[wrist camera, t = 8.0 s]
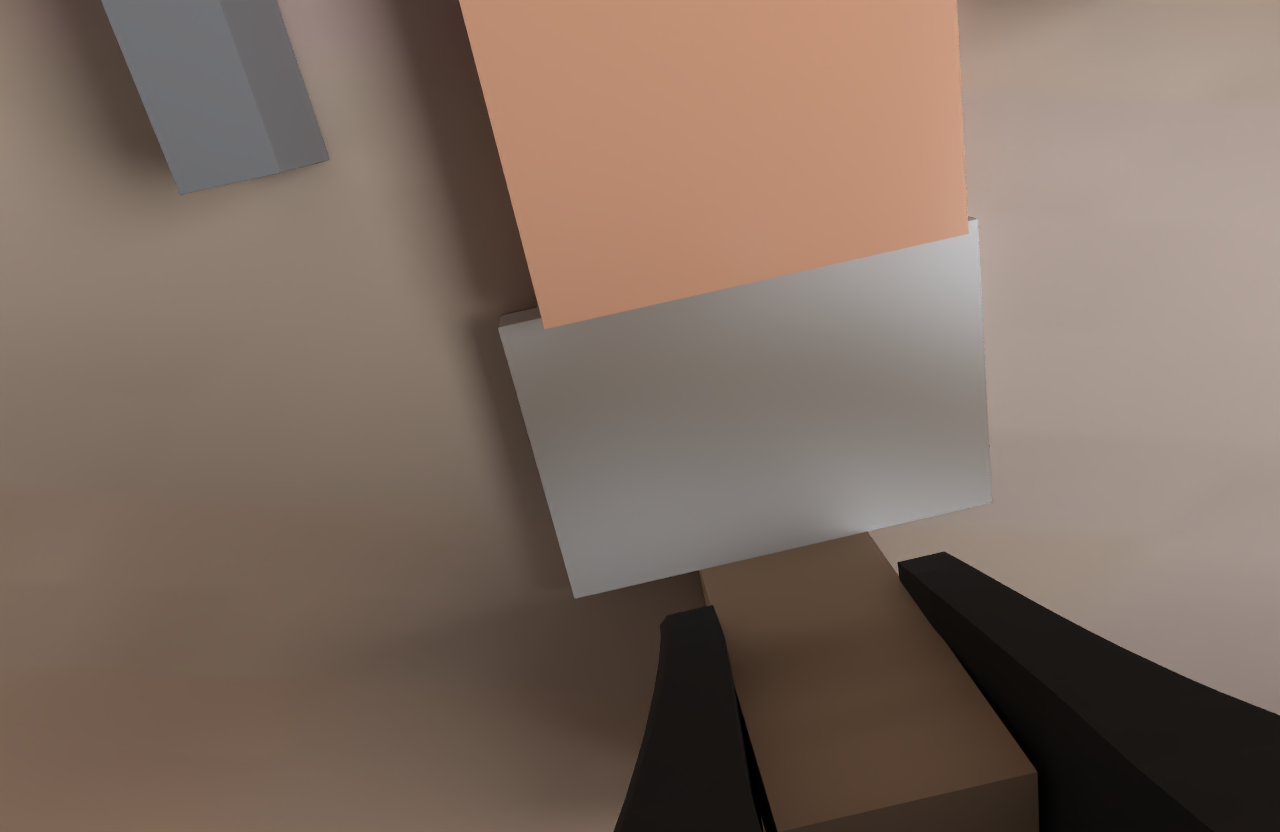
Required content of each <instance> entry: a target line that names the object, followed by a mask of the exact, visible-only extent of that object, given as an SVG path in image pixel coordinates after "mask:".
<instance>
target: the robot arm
mask: <svg viewBox="0 0 1280 832" xmlns="http://www.w3.org/2000/svg"><path fill="white" fill-rule="evenodd" d="M898 570H899V580H900V582H901V583H902V584H903V586H904V587H905V589H906V590H907V591H908V593H909V594H910V596H911V597H912V599H913V600H914V601H915V603H916V604H917V606H918V607H919V608H920V610H921V611H922V613H923V614H924V616H925V617H926V618H927V620H928V621H929V623H930V624H931V625H932V627H933V628H934V629H935V630H936V632H937V633H938V634H939V635H940V636H941V637H942V638H943V640H944V641H945V642H946V644H947V645H948V646H949V648H950V649H951V651H952V652H953V653H954V655H955V656H956V658H957V659H958V660H959V662H960V663H961V665H962V666H963V668H964V669H965V670H966V672H967V673H968V675H969V676H970V677H971V679H972V680H973V682H974V683H975V684H976V686H977V687H978V689H979V690H980V692H981V693H982V694H983V696H984V697H985V699H986V700H987V701H988V703H989V704H990V706H991V707H992V708H993V710H994V711H995V713H996V714H997V715H998V717H999V718H1000V720H1001V721H1002V723H1003V724H1004V725H1005V727H1006V728H1007V730H1008V731H1009V732H1010V734H1011V735H1012V737H1013V738H1014V739H1015V741H1016V742H1017V744H1018V745H1019V747H1020V748H1021V749H1022V751H1023V752H1024V754H1025V755H1026V756H1027V758H1028V759H1029V761H1030V762H1031V763H1032V765H1033V766H1034V768H1035V769H1036V771H1037V774H1038V807H1039V832H1280V715H1277V714H1275V713H1272V712H1270V711H1267V710H1265V709H1262V708H1259V707H1257V706H1254V705H1252V704H1249V703H1247V702H1244V701H1242V700H1239V699H1237V698H1234V697H1232V696H1229V695H1226V694H1224V693H1221V692H1219V691H1217V690H1214V689H1212V688H1210V687H1207V686H1205V685H1203V684H1200V683H1198V682H1196V681H1193V680H1191V679H1189V678H1186V677H1184V676H1182V675H1180V674H1177V673H1175V672H1173V671H1171V670H1169V669H1167V668H1165V667H1162V666H1160V665H1158V664H1156V663H1154V662H1152V661H1150V660H1147V659H1145V658H1143V657H1141V656H1139V655H1137V654H1135V653H1132V652H1130V651H1128V650H1126V649H1124V648H1122V647H1120V646H1118V645H1116V644H1114V643H1112V642H1110V641H1108V640H1106V639H1104V638H1102V637H1100V636H1098V635H1096V634H1094V633H1092V632H1090V631H1088V630H1086V629H1084V628H1082V627H1080V626H1078V625H1077V624H1075V623H1073V622H1071V621H1069V620H1067V619H1065V618H1063V617H1062V616H1060V615H1058V614H1056V613H1054V612H1052V611H1050V610H1048V609H1047V608H1045V607H1043V606H1041V605H1039V604H1037V603H1036V602H1034V601H1032V600H1030V599H1028V598H1027V597H1025V596H1023V595H1021V594H1019V593H1018V592H1016V591H1014V590H1012V589H1011V588H1009V587H1007V586H1005V585H1003V584H1002V583H1000V582H998V581H996V580H995V579H993V578H991V577H989V576H987V575H986V574H984V573H982V572H980V571H979V570H977V569H975V568H973V567H972V566H970V565H968V564H966V563H964V562H963V561H961V560H959V559H957V558H955V557H953V556H951V555H950V554H948V553H946V552H940V553H936V554H932V555H927V556H923V557H919V558H914V559H910V560H906V561H901V562H898ZM660 630H661V643H660V656H659V664H658V671H657V677H656V683H655V689H654V694H653V699H652V703H651V707H650V712H649V716H648V721H647V725H646V730H645V734H644V738H643V742H642V745H641V749H640V752H639V755H638V759H637V762H636V765H635V769H634V772H633V775H632V778H631V782H630V785H629V788H628V792H627V795H626V798H625V801H624V804H623V807H622V810H621V812H620V815H619V818H618V821H617V824H616V826H615V829H614V832H764V830H763V824H762V818H761V813H760V808H759V804H758V799H757V794H756V789H755V784H754V779H753V774H752V769H751V765H750V760H749V755H748V750H747V745H746V740H745V735H744V730H743V726H742V721H741V716H740V711H739V706H738V701H737V696H736V692H735V687H734V681H733V675H732V670H731V665H730V660H729V655H728V651H727V646H726V641H725V636H724V633H723V630H722V628H721V625H720V622H719V619H718V616H717V614H716V611H715V608H714V606H713V605H711V606H706V607H702V608H698V609H693V610H689V611H685V612H680V613H676V614H672V615H667V616H666V618H665V619H664V620H663V622H662V623H661V625H660Z"/></svg>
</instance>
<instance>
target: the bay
mask: <svg viewBox="0 0 1280 832" xmlns="http://www.w3.org/2000/svg"><path fill="white" fill-rule="evenodd" d="M101 2H102V4H103V7H104V9H105V12H106V14H107V17H108V19H109V22H110V24H111V26H112V29H113V31H114V34H115V36H116V39H117V41H118V44H119V46H120V48H121V51H122V53H123V56H124V58H125V61H126V63H127V66H128V68H129V71H130V73H131V75H132V78H133V80H134V83H135V85H136V88H137V90H138V93H139V95H140V98H141V100H142V102H143V105H144V107H145V110H146V112H147V115H148V117H149V120H150V122H151V125H152V127H153V129H154V132H155V134H156V137H157V139H158V142H159V144H160V147H161V149H162V151H163V154H164V156H165V159H166V161H167V164H168V166H169V169H170V171H171V174H172V176H173V178H174V181H175V183H176V186H177V188H178V191H179V193H180V195H182V194H187V193H191V192H196V191H200V190H205V189H209V188H214V187H218V186H223V185H227V184H232V183H236V182H241V181H245V180H250V179H254V178H259V177H263V176H268V175H272V174H277V173H281V172H285V171H289V170H292V169H296V168H300V167H304V166H308V165H311V164H315V163H319V162H323V161H327V160H330V159H329V156H328V153H327V150H326V147H325V144H324V141H323V138H322V135H321V132H320V129H319V126H318V123H317V120H316V117H315V114H314V111H313V109H312V106H311V103H310V100H309V97H308V94H307V91H306V88H305V85H304V82H303V79H302V76H301V73H300V70H299V67H298V64H297V61H296V58H295V55H294V52H293V49H292V46H291V43H290V40H289V37H288V34H287V31H286V28H285V25H284V22H283V19H282V16H281V13H280V10H279V7H278V4H277V1H276V0H101Z"/></svg>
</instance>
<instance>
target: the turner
mask: <svg viewBox="0 0 1280 832" xmlns="http://www.w3.org/2000/svg"><path fill="white" fill-rule="evenodd" d="M968 231H969V234H965V235H961V236H957V237H952V238H948V239H943V240H939V241H934V242H930V243H926V244H921V245H917V246H912V247H908V248H903V249H899V250H895V251H890V252H886V253H881V254H877V255H872V256H868V257H863V258H859V259H855V260H850V261H846V262H841V263H837V264H832V265H828V266H824V267H819V268H815V269H810V270H806V271H801V272H797V273H792V274H788V275H784V276H779V277H775V278H770V279H766V280H761V281H757V282H753V283H748V284H744V285H739V286H735V287H730V288H726V289H721V290H717V291H713V292H708V293H704V294H699V295H695V296H690V297H686V298H682V299H677V300H673V301H668V302H664V303H659V304H655V305H651V306H646V307H642V308H637V309H633V310H628V311H624V312H619V313H615V314H611V315H606V316H602V317H597V318H593V319H588V320H584V321H580V322H575V323H571V324H566V325H562V326H557V327H553V328H548V329H544V326H543V322H542V318H541V314H540V310H539V307H537V308H532V309H528V310H524V311H519V312H515V313H510V314H506V315H502V316H501V318H500V322H499V325H498V330H499V334H500V337H501V341H502V344H503V348H504V351H505V355H506V358H507V362H508V365H509V369H510V372H511V376H512V379H513V383H514V387H515V390H516V394H517V397H518V401H519V404H520V408H521V411H522V415H523V418H524V422H525V425H526V429H527V432H528V436H529V440H530V443H531V447H532V450H533V454H534V457H535V461H536V464H537V468H538V471H539V475H540V478H541V482H542V485H543V489H544V492H545V496H546V500H547V503H548V507H549V510H550V514H551V517H552V521H553V524H554V528H555V531H556V535H557V538H558V542H559V545H560V549H561V552H562V556H563V560H564V563H565V567H566V570H567V574H568V577H569V581H570V584H571V588H572V591H573V595H574V598H575V599H576V598H580V597H584V596H589V595H593V594H598V593H602V592H606V591H611V590H615V589H619V588H624V587H628V586H632V585H637V584H641V583H645V582H650V581H654V580H658V579H663V578H667V577H672V576H676V575H680V574H685V573H689V572H693V571H699V575H700V580H701V585H702V590H703V594H704V599H705V604H706V606H711V605H713V606H714V608H715V611H716V614H717V616H718V619H719V622H720V625H721V628H722V630H723V633H724V636H725V641H726V646H727V651H728V655H729V660H730V665H731V670H732V675H733V681H734V687H735V692H736V696H737V701H738V706H739V711H740V716H741V721H742V726H743V730H744V735H745V740H746V745H747V750H748V755H749V760H750V765H751V769H752V774H753V779H754V784H755V789H756V794H757V799H758V804H759V808H760V813H761V818H762V824H763V830H764V832H1039V807H1038V774H1037V771H1036V769H1035V768H1034V766H1033V765H1032V763H1031V762H1030V761H1029V759H1028V758H1027V756H1026V755H1025V754H1024V752H1023V751H1022V749H1021V748H1020V747H1019V745H1018V744H1017V742H1016V741H1015V739H1014V738H1013V737H1012V735H1011V734H1010V732H1009V731H1008V730H1007V728H1006V727H1005V725H1004V724H1003V723H1002V721H1001V720H1000V718H999V717H998V715H997V714H996V713H995V711H994V710H993V708H992V707H991V706H990V704H989V703H988V701H987V700H986V699H985V697H984V696H983V694H982V693H981V692H980V690H979V689H978V687H977V686H976V684H975V683H974V682H973V680H972V679H971V677H970V676H969V675H968V673H967V672H966V670H965V669H964V668H963V666H962V665H961V663H960V662H959V660H958V659H957V658H956V656H955V655H954V653H953V652H952V651H951V649H950V648H949V646H948V645H947V644H946V642H945V641H944V640H943V638H942V637H941V636H940V635H939V634H938V633H937V632H936V630H935V629H934V628H933V627H932V625H931V624H930V623H929V621H928V620H927V618H926V617H925V616H924V614H923V613H922V611H921V610H920V608H919V607H918V606H917V604H916V603H915V601H914V600H913V599H912V597H911V596H910V594H909V593H908V591H907V590H906V589H905V587H904V586H903V584H902V583H901V582H900V580H899V576H898V574H897V573H896V572H895V570H894V569H893V567H892V566H891V565H890V563H889V562H888V560H887V559H886V557H885V556H884V555H883V553H882V552H881V550H880V549H879V548H878V546H877V545H876V543H875V542H874V541H873V539H872V538H871V536H870V535H869V533H868V532H867V531H872V530H876V529H881V528H885V527H889V526H894V525H898V524H902V523H907V522H911V521H915V520H920V519H924V518H928V517H933V516H937V515H941V514H946V513H950V512H955V511H959V510H963V509H968V508H972V507H976V506H981V505H985V504H989V503H992V493H991V474H990V454H989V434H988V414H987V394H986V374H985V354H984V334H983V314H982V294H981V274H980V254H979V234H978V219H976V218H973V217H969V216H968Z"/></svg>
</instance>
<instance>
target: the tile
mask: <svg viewBox="0 0 1280 832" xmlns="http://www.w3.org/2000/svg"><path fill="white" fill-rule="evenodd" d="M459 2H460V6H461V10H462V14H463V18H464V22H465V26H466V29H467V33H468V37H469V41H470V45H471V49H472V52H473V56H474V60H475V64H476V68H477V72H478V76H479V79H480V83H481V87H482V91H483V95H484V99H485V103H486V106H487V110H488V114H489V118H490V122H491V126H492V129H493V133H494V137H495V141H496V145H497V149H498V153H499V156H500V160H501V164H502V168H503V172H504V176H505V179H506V183H507V187H508V191H509V195H510V199H511V203H512V206H513V210H514V214H515V218H516V222H517V226H518V229H519V233H520V237H521V241H522V245H523V249H524V253H525V256H526V260H527V264H528V268H529V272H530V276H531V279H532V283H533V287H534V291H535V295H536V299H537V303H538V306H539V310H540V314H541V318H542V322H543V326H544V329H548V328H553V327H557V326H562V325H566V324H571V323H575V322H580V321H584V320H588V319H593V318H597V317H602V316H606V315H611V314H615V313H619V312H624V311H628V310H633V309H637V308H642V307H646V306H651V305H655V304H659V303H664V302H668V301H673V300H677V299H682V298H686V297H690V296H695V295H699V294H704V293H708V292H713V291H717V290H721V289H726V288H730V287H735V286H739V285H744V284H748V283H753V282H757V281H761V280H766V279H770V278H775V277H779V276H784V275H788V274H792V273H797V272H801V271H806V270H810V269H815V268H819V267H824V266H828V265H832V264H837V263H841V262H846V261H850V260H855V259H859V258H863V257H868V256H872V255H877V254H881V253H886V252H890V251H895V250H899V249H903V248H908V247H912V246H917V245H921V244H926V243H930V242H934V241H939V240H943V239H948V238H952V237H957V236H961V235H965V234H969V231H968V211H967V191H966V171H965V151H964V131H963V111H962V91H961V71H960V51H959V31H958V11H957V0H459Z"/></svg>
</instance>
